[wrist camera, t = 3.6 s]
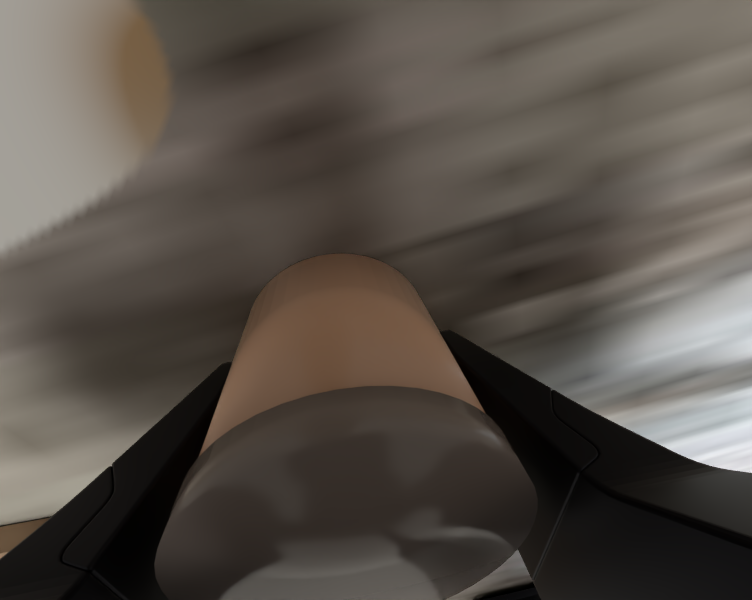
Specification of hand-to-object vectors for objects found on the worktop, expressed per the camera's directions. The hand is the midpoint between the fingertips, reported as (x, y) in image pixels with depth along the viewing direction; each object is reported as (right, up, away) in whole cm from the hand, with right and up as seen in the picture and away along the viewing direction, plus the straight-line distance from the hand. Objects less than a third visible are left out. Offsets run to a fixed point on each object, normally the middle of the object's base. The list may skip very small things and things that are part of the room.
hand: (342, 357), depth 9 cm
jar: (0, +1, +1) cm, 1 cm away
